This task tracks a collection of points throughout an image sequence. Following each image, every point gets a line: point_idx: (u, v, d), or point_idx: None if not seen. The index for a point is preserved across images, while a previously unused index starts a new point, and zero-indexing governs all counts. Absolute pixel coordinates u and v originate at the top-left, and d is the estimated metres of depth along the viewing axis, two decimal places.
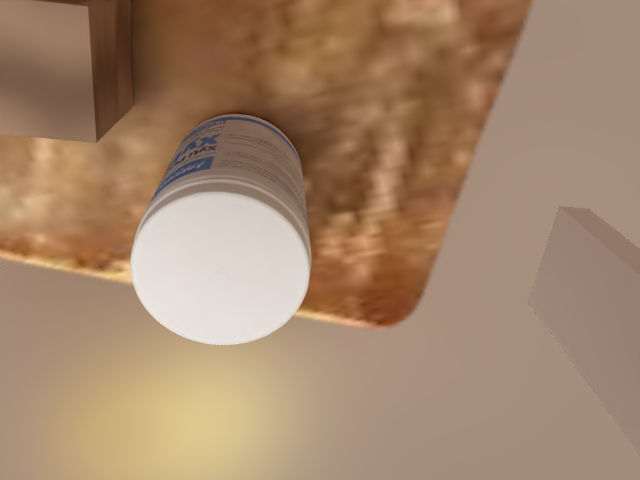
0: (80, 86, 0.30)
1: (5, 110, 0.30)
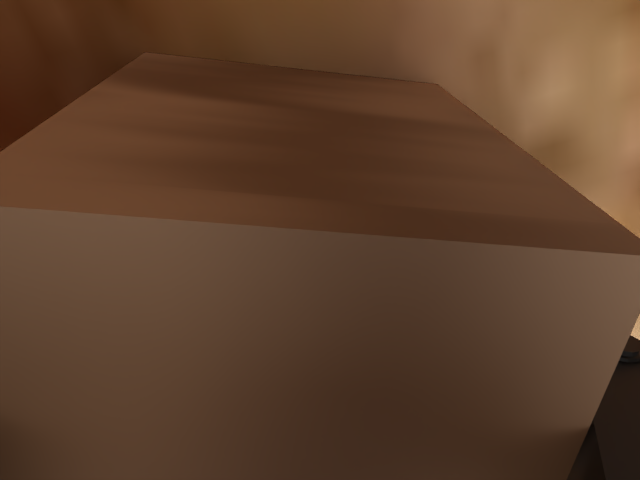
0: (365, 291, 0.06)
1: None
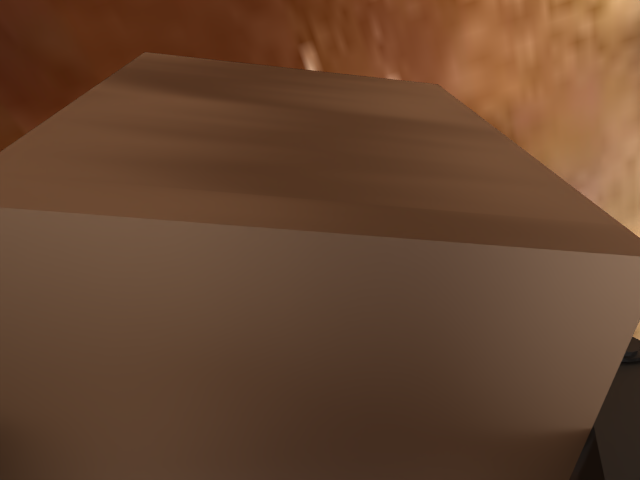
0: (366, 293, 0.06)
1: None
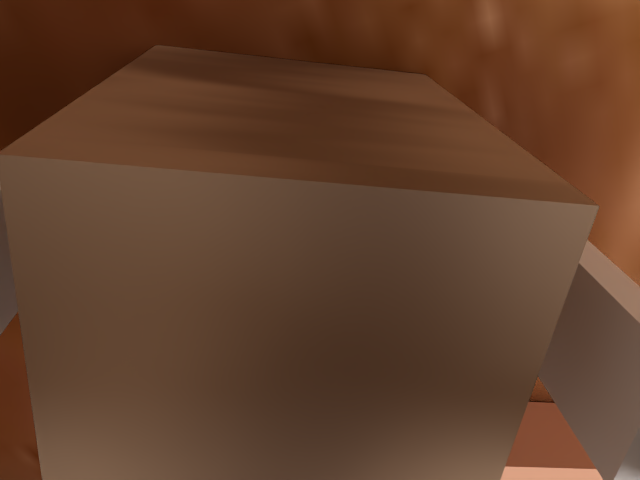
0: (350, 234, 0.07)
1: (420, 470, 0.09)
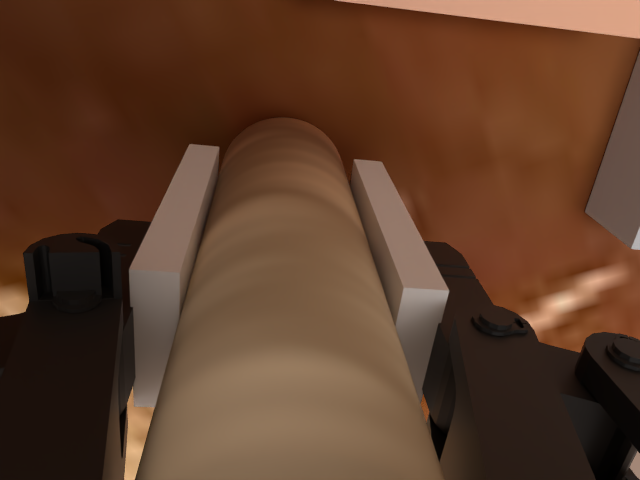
0: None
1: None
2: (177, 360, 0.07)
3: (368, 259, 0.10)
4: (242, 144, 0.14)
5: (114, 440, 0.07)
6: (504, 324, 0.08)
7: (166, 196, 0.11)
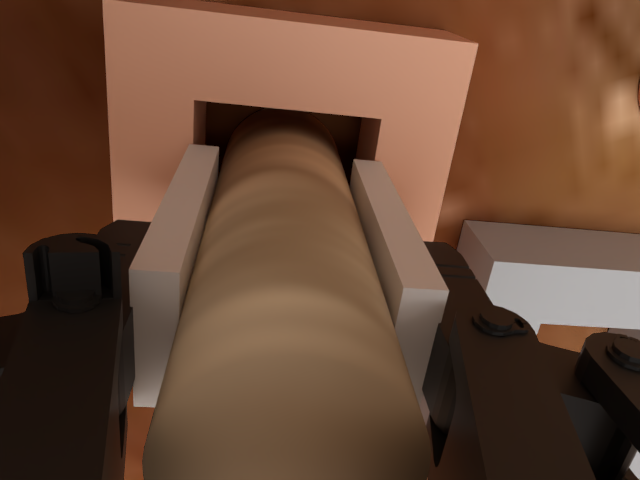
0: None
1: None
2: (192, 302, 0.08)
3: (357, 226, 0.11)
4: (245, 130, 0.16)
5: (114, 440, 0.07)
6: (504, 324, 0.08)
7: (166, 196, 0.11)
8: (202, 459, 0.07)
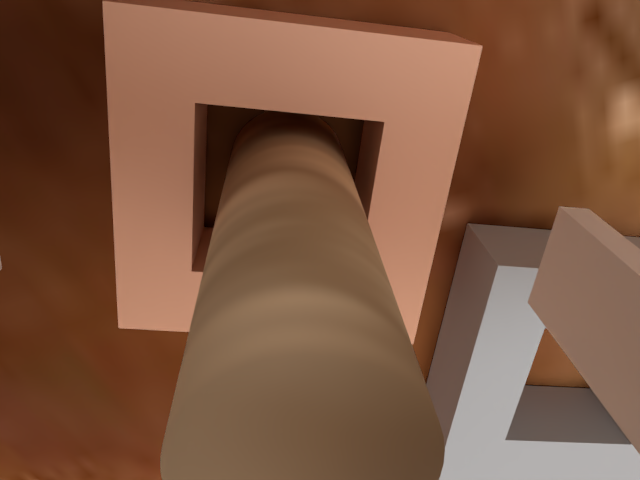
0: None
1: None
2: (205, 302, 0.08)
3: (366, 227, 0.11)
4: (251, 131, 0.16)
5: None
6: None
7: None
8: (219, 457, 0.07)
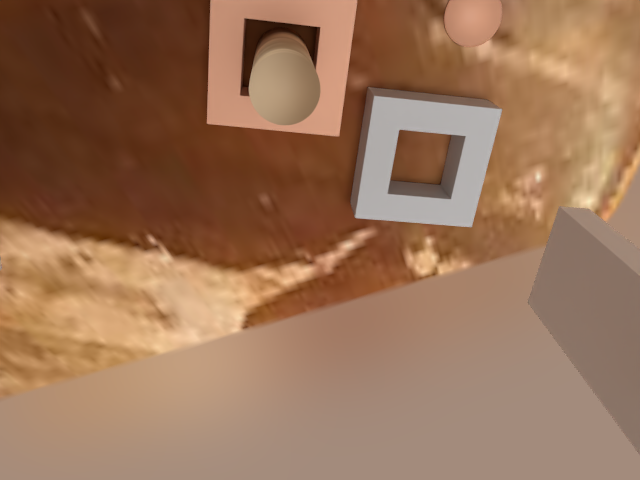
0: None
1: None
2: (257, 59, 0.29)
3: (308, 53, 0.32)
4: (266, 35, 0.37)
5: None
6: None
7: None
8: (263, 84, 0.28)
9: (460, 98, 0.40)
